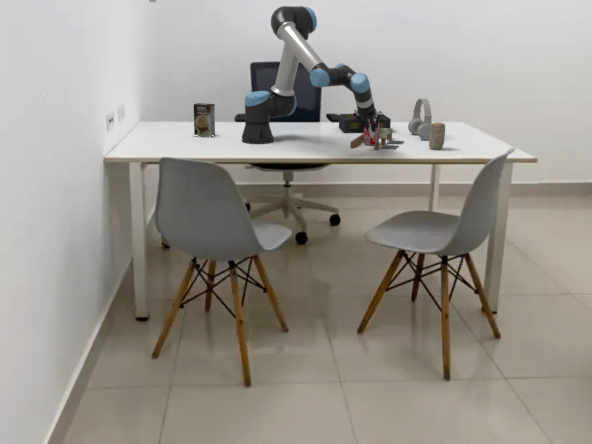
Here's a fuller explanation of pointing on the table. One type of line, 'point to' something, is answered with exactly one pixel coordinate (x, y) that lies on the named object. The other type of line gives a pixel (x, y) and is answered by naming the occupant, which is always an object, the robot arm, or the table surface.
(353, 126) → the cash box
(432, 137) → the carved cylinder
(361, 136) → the brown and grey pieces
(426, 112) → the headphones
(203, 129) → the coffee box
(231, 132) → the table surface
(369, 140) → the soda can
